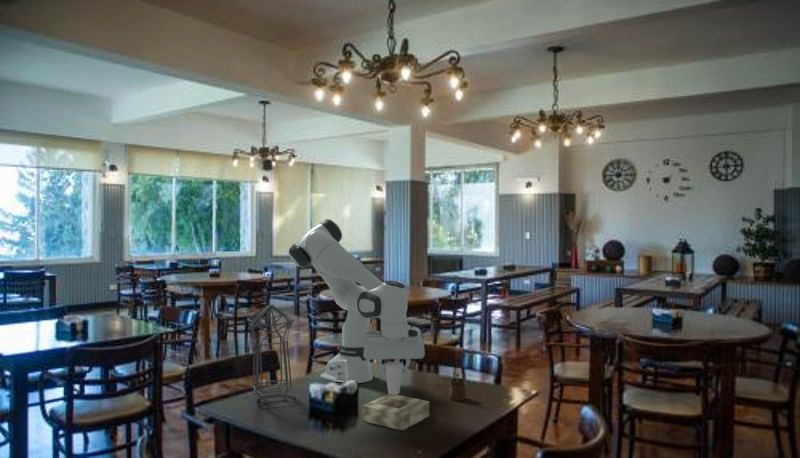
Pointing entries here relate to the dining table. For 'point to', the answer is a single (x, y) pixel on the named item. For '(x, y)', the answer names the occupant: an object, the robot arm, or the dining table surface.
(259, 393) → the geometric lantern
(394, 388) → the smoothie
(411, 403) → the socket block
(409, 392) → the dining table surface
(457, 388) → the brown bottle
